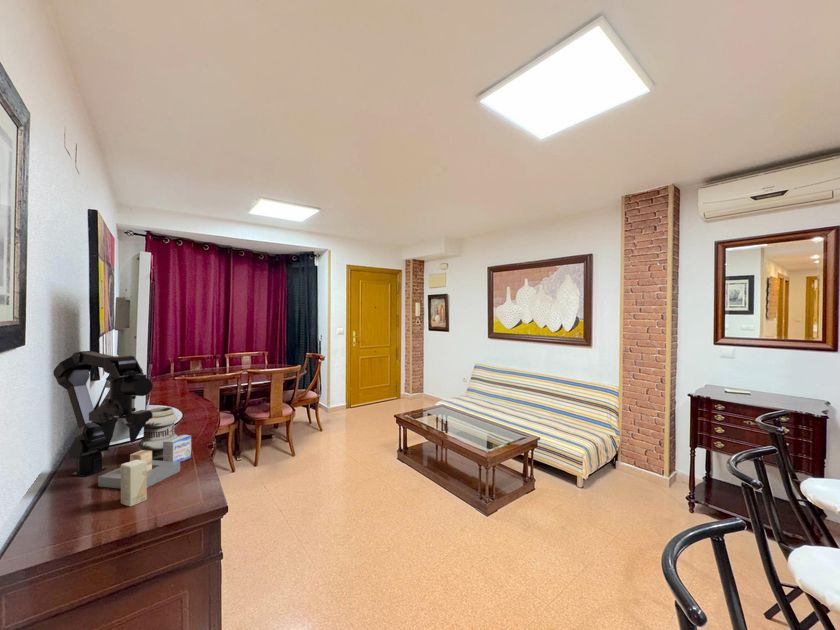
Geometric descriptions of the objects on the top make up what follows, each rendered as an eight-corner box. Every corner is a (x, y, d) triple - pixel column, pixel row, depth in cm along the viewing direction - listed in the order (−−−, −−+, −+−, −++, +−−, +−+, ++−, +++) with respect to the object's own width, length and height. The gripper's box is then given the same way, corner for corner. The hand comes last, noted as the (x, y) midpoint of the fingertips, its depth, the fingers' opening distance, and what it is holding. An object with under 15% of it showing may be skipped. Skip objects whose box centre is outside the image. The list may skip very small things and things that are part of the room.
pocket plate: (98, 486, 110) (98, 476, 110) (140, 467, 123) (140, 459, 124) (141, 490, 107) (141, 480, 107) (180, 471, 121) (180, 462, 121)
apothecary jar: (138, 465, 125) (139, 415, 126) (138, 455, 135) (139, 408, 135) (179, 457, 133) (180, 409, 133) (176, 448, 142) (177, 404, 143)
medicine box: (172, 466, 125) (173, 442, 125) (162, 465, 126) (162, 441, 126) (191, 457, 132) (191, 434, 133) (181, 457, 133) (181, 434, 133)
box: (147, 500, 101) (147, 461, 101) (129, 507, 97) (130, 467, 98) (137, 496, 103) (137, 458, 104) (119, 503, 100) (120, 464, 100)
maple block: (129, 479, 114) (130, 454, 114) (141, 474, 117) (141, 450, 118) (140, 480, 113) (140, 455, 113) (151, 474, 117) (152, 450, 117)
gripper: (70, 398, 109) (69, 448, 109) (120, 400, 106) (119, 452, 106) (107, 391, 120) (106, 436, 120) (154, 393, 117) (153, 439, 117)
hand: (120, 441), depth 116 cm, fingers open, 9 cm apart
